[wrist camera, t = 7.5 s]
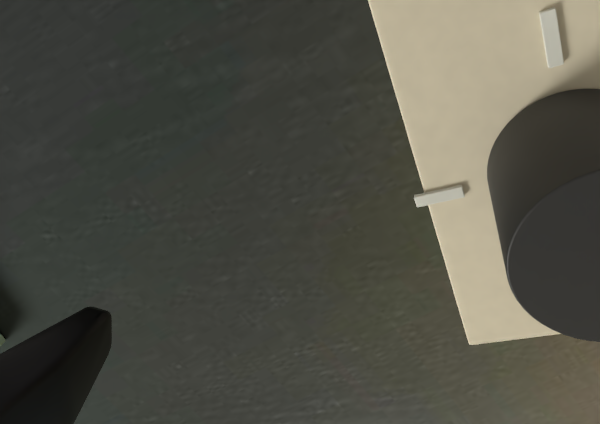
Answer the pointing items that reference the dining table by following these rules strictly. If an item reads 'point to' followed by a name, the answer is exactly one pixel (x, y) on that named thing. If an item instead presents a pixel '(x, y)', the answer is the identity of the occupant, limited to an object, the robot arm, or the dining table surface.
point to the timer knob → (552, 210)
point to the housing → (2, 340)
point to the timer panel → (479, 121)
